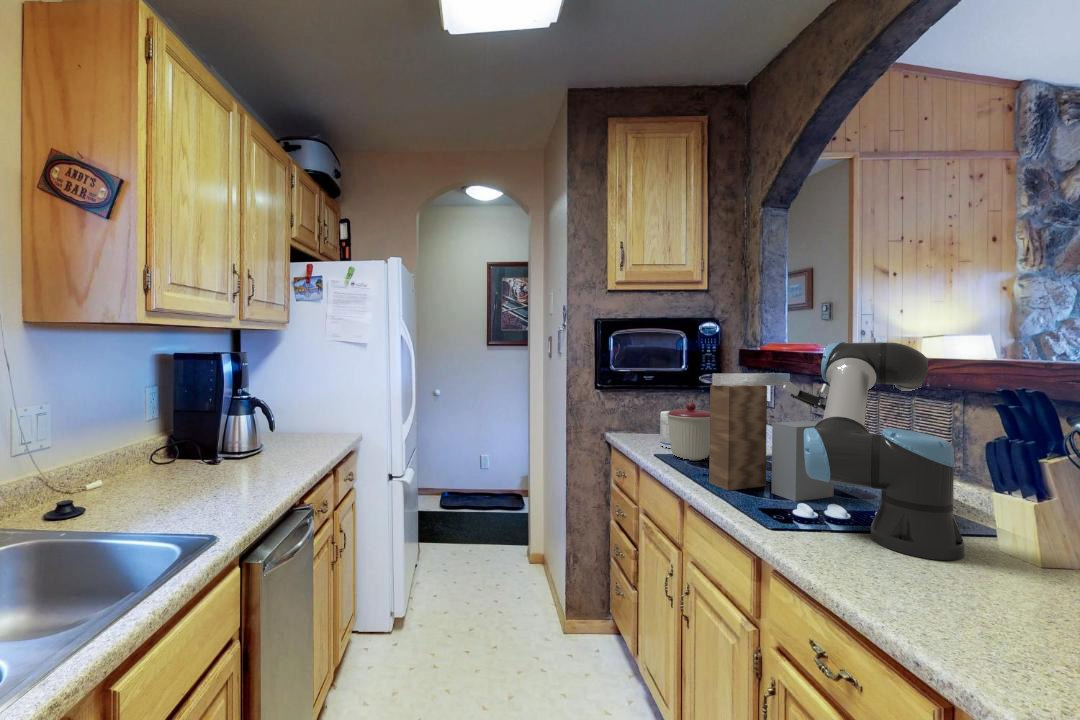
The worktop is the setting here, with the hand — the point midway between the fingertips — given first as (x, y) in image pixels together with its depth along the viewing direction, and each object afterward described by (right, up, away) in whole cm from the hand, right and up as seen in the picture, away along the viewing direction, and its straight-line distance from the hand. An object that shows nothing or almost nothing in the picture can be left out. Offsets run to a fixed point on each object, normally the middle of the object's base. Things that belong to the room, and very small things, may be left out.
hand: (803, 385), depth 149 cm
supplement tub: (-28, -29, +49) cm, 63 cm away
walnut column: (-24, -29, -8) cm, 39 cm away
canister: (-27, -29, +28) cm, 49 cm away
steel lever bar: (-20, +1, -7) cm, 21 cm away
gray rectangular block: (-10, -30, -18) cm, 36 cm away
